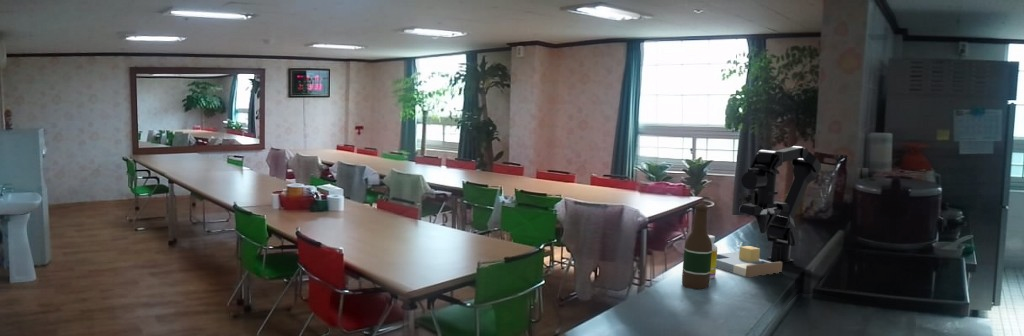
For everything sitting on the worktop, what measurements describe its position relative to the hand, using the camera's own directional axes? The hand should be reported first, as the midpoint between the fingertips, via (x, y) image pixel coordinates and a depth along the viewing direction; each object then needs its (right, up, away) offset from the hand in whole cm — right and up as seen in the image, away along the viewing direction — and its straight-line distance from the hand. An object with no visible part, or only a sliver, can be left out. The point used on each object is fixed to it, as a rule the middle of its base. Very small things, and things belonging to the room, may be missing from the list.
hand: (762, 233), depth 224 cm
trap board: (-9, -11, -5) cm, 15 cm away
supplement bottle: (-25, -12, -19) cm, 34 cm away
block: (-6, -8, -3) cm, 11 cm away
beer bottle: (-31, -13, -30) cm, 45 cm away
